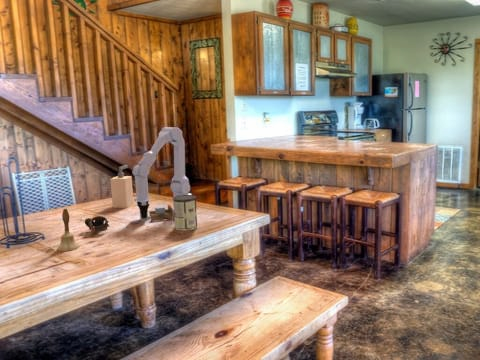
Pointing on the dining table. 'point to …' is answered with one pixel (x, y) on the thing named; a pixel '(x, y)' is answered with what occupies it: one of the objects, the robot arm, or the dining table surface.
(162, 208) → the tethered block
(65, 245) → the hand bell
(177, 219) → the coffee can
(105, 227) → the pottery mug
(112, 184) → the soap dispenser
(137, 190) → the robot arm
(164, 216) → the walnut lane
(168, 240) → the dining table surface
